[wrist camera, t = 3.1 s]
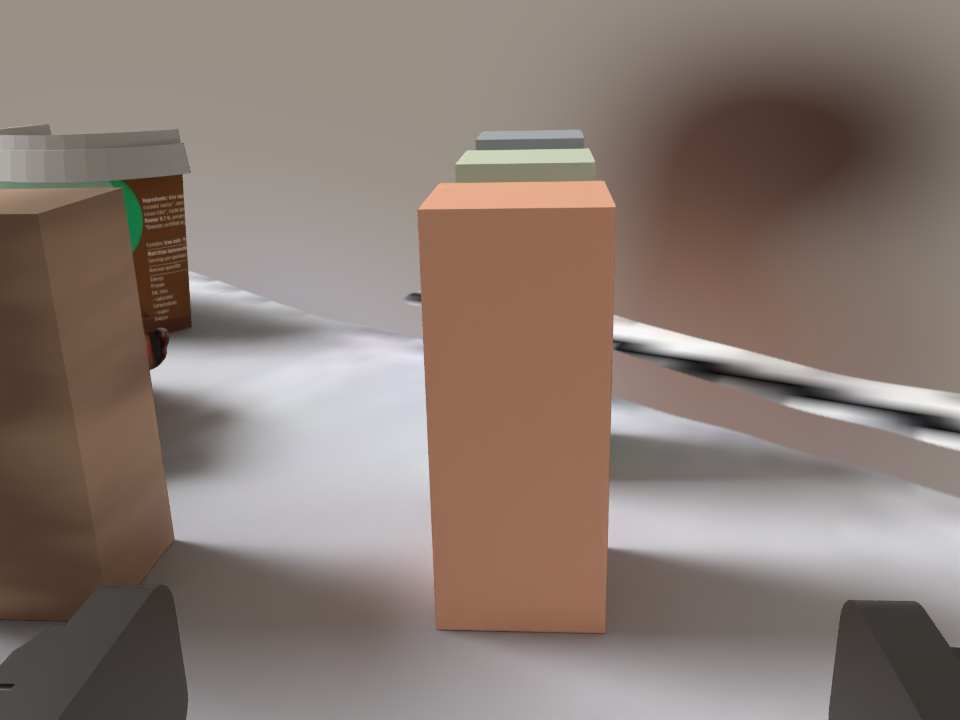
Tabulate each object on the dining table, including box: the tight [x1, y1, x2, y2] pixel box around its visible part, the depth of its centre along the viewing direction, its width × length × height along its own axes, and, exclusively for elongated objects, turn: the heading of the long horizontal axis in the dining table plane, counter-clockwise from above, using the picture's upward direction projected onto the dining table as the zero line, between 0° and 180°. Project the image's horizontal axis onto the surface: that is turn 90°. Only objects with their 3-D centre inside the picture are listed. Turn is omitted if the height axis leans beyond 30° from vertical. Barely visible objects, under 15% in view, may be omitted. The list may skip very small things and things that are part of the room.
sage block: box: [455, 149, 595, 183], centre depth 29 cm, size 4×4×10 cm
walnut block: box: [0, 187, 174, 621], centre depth 23 cm, size 4×4×10 cm
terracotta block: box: [418, 181, 616, 633], centre depth 22 cm, size 4×4×10 cm
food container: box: [0, 124, 192, 333], centre depth 45 cm, size 12×6×10 cm, turn 55°
